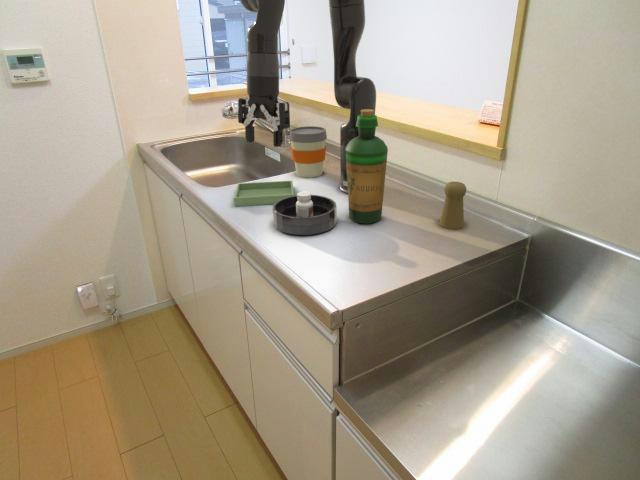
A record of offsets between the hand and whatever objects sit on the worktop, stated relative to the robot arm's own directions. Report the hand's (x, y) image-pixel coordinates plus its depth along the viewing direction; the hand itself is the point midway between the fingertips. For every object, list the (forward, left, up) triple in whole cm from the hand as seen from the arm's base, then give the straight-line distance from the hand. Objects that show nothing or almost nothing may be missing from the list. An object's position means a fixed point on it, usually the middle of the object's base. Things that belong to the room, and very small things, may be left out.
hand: (263, 144), depth 111 cm
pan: (-9, +3, -21) cm, 23 cm away
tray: (+2, -19, -21) cm, 28 cm away
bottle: (-25, +2, -21) cm, 33 cm away
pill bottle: (-9, +3, -20) cm, 22 cm away
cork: (-46, +9, -21) cm, 52 cm away
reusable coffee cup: (-13, -39, -21) cm, 47 cm away
